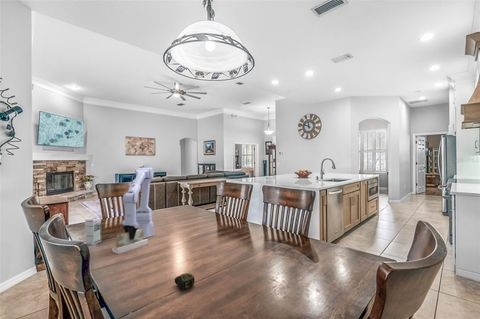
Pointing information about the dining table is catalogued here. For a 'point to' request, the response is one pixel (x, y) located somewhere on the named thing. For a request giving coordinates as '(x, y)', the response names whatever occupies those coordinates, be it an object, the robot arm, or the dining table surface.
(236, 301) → the dining table surface
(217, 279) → the dining table surface
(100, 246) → the dining table surface
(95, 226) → the syrup box
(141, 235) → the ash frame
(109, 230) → the dining table surface
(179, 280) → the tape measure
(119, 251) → the bar
